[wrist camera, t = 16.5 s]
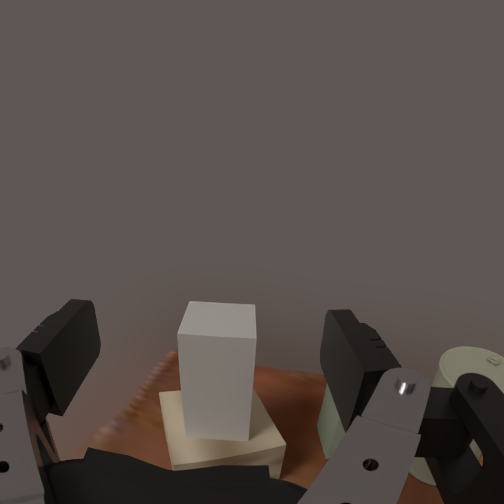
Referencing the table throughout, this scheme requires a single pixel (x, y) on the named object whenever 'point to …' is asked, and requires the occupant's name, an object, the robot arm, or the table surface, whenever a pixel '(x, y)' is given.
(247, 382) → the grey block
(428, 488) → the table surface
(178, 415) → the base block
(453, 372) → the can
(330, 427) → the sage block
